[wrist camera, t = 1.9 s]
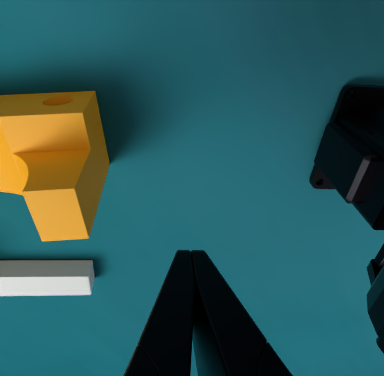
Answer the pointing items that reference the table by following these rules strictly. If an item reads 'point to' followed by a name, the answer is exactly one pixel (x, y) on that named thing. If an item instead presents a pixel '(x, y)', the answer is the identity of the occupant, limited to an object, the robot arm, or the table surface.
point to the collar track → (46, 277)
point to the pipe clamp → (54, 159)
